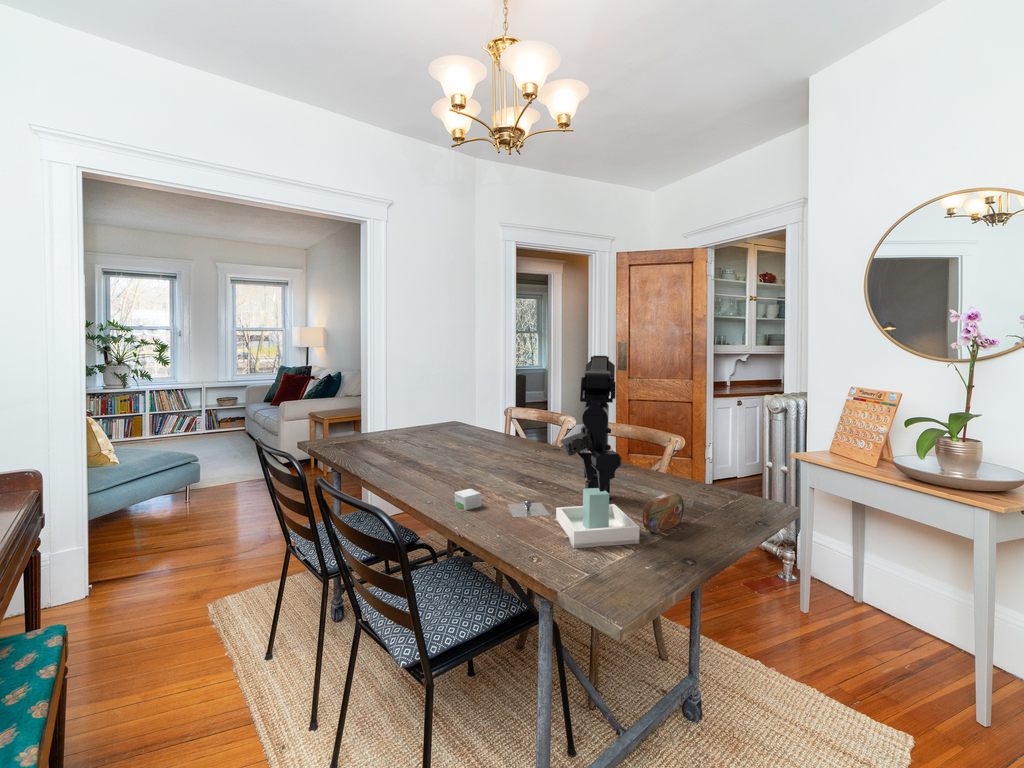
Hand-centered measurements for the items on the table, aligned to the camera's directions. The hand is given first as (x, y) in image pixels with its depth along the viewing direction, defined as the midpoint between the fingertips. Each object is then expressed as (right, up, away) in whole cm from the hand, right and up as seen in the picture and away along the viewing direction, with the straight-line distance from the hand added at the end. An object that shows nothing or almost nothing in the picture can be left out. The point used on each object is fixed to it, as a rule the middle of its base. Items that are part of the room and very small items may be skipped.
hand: (595, 485), depth 122 cm
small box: (-33, -11, +17) cm, 39 cm away
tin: (+18, -12, +4) cm, 22 cm away
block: (0, -11, +1) cm, 11 cm away
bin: (0, -12, +1) cm, 12 cm away
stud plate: (-16, -11, +14) cm, 24 cm away
